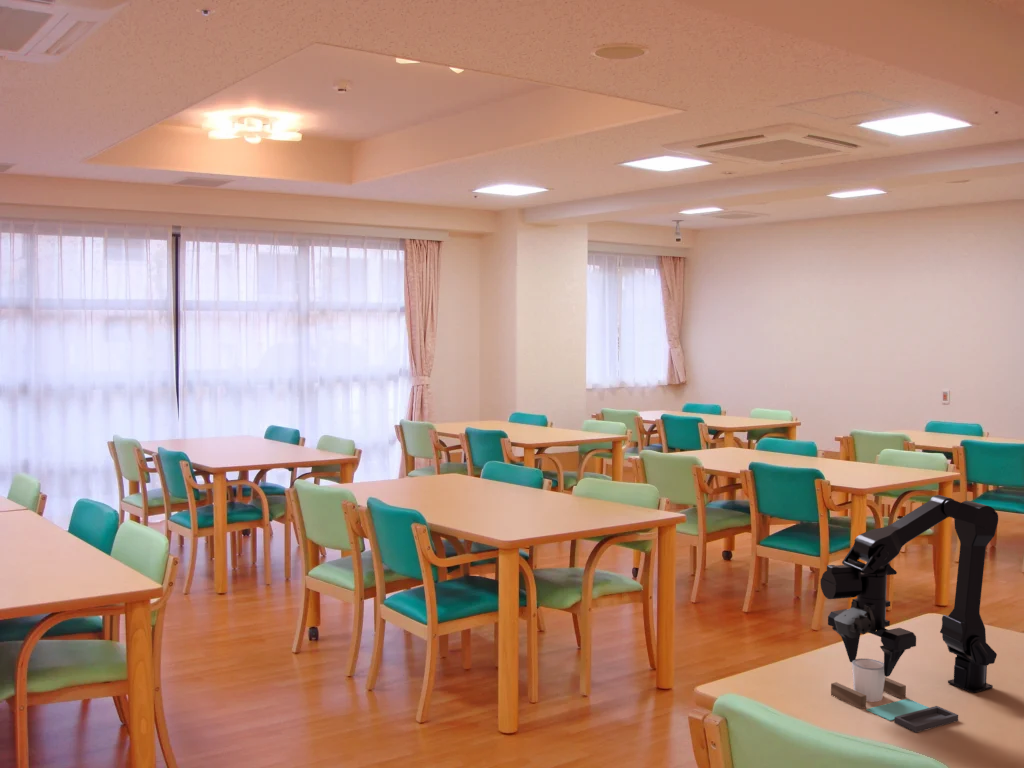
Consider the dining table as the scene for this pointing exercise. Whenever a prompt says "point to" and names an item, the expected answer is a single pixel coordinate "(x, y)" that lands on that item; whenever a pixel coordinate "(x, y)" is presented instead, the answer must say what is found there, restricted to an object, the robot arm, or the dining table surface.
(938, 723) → the trap pit
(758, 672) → the dining table surface
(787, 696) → the dining table surface
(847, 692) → the brown bar
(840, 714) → the dining table surface
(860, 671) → the white cup
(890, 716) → the teal pad
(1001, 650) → the dining table surface
